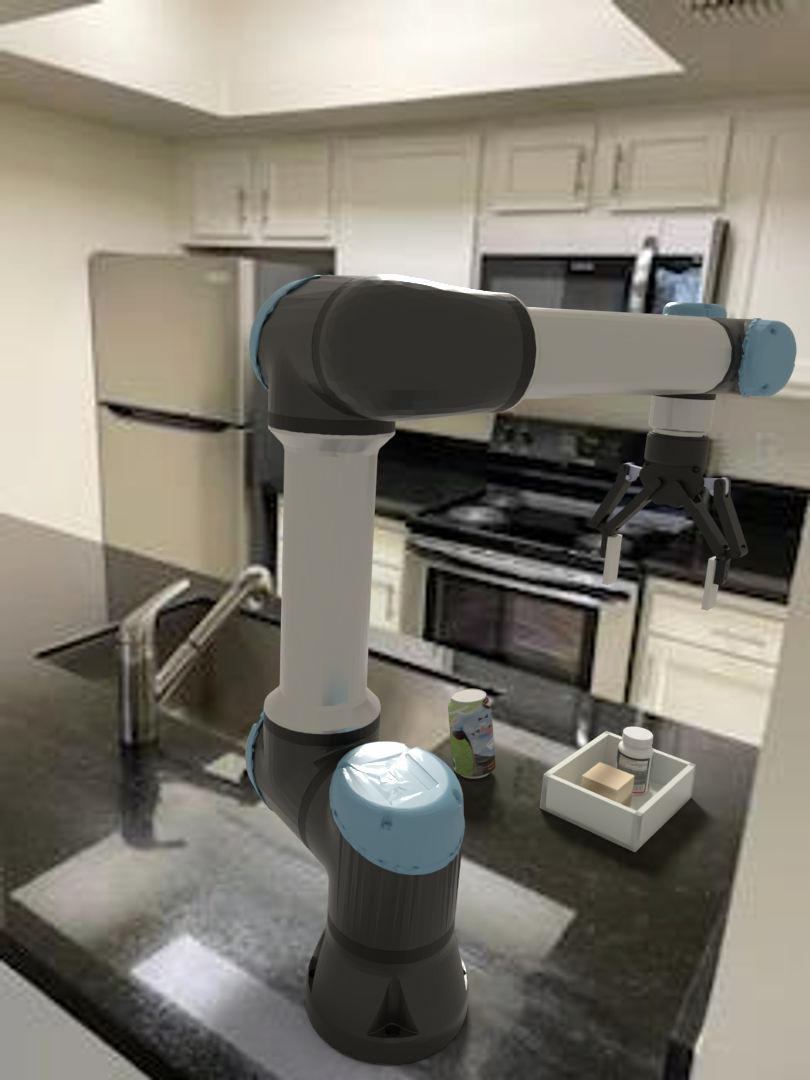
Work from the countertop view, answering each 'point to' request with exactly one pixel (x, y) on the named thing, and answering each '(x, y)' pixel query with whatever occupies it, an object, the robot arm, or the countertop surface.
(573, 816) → the tote
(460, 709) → the beverage can
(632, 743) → the pill bottle
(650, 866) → the countertop surface
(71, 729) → the countertop surface
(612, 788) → the cube
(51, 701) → the countertop surface
